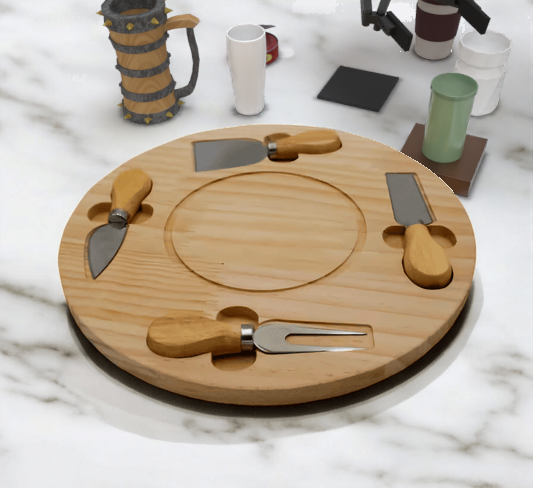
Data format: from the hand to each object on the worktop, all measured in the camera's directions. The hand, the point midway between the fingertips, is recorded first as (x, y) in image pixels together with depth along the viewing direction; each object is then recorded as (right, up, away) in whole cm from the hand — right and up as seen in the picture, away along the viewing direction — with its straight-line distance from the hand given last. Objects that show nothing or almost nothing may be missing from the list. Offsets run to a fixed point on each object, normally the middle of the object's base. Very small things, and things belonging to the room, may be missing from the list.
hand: (448, 35), depth 97 cm
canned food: (-29, +8, +37) cm, 48 cm away
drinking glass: (-30, -6, +23) cm, 39 cm away
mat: (-10, -2, +27) cm, 29 cm away
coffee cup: (+7, +8, +36) cm, 38 cm away
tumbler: (+1, -16, +8) cm, 18 cm away
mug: (-46, -6, +25) cm, 53 cm away
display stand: (+1, -18, +10) cm, 21 cm away
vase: (+11, -5, +22) cm, 25 cm away
